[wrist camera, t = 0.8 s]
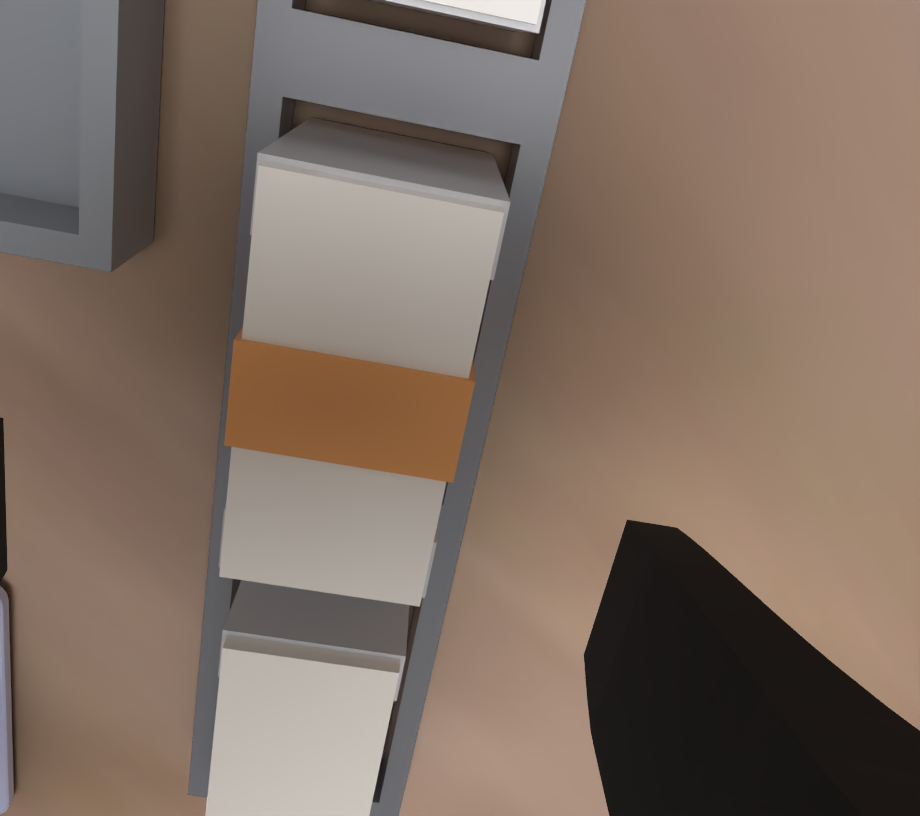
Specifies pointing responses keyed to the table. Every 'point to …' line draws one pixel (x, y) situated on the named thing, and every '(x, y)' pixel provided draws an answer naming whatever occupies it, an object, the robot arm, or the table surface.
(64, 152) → the tray
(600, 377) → the table surface
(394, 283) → the white and orange block
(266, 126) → the fuse holder
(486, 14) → the block
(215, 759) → the block
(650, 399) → the table surface
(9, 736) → the robot arm
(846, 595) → the table surface
